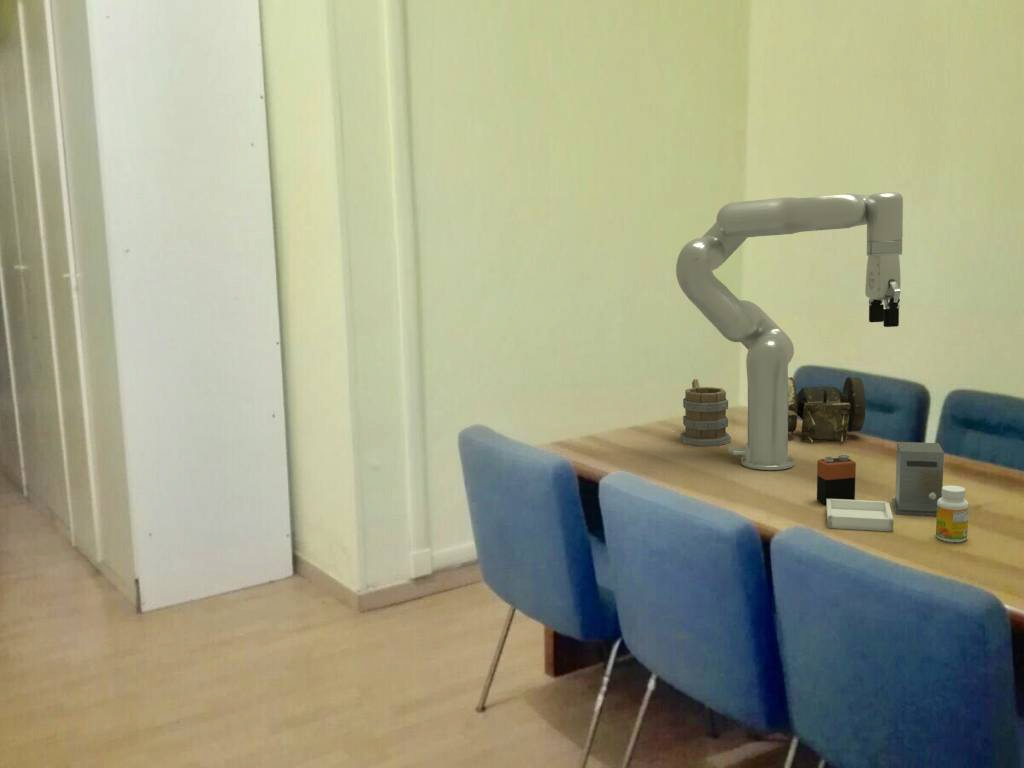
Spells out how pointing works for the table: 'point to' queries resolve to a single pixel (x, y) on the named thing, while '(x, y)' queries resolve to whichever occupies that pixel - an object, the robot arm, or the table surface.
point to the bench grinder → (827, 410)
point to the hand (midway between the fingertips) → (883, 324)
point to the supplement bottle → (952, 515)
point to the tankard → (705, 416)
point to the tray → (859, 515)
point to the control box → (918, 478)
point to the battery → (836, 478)
